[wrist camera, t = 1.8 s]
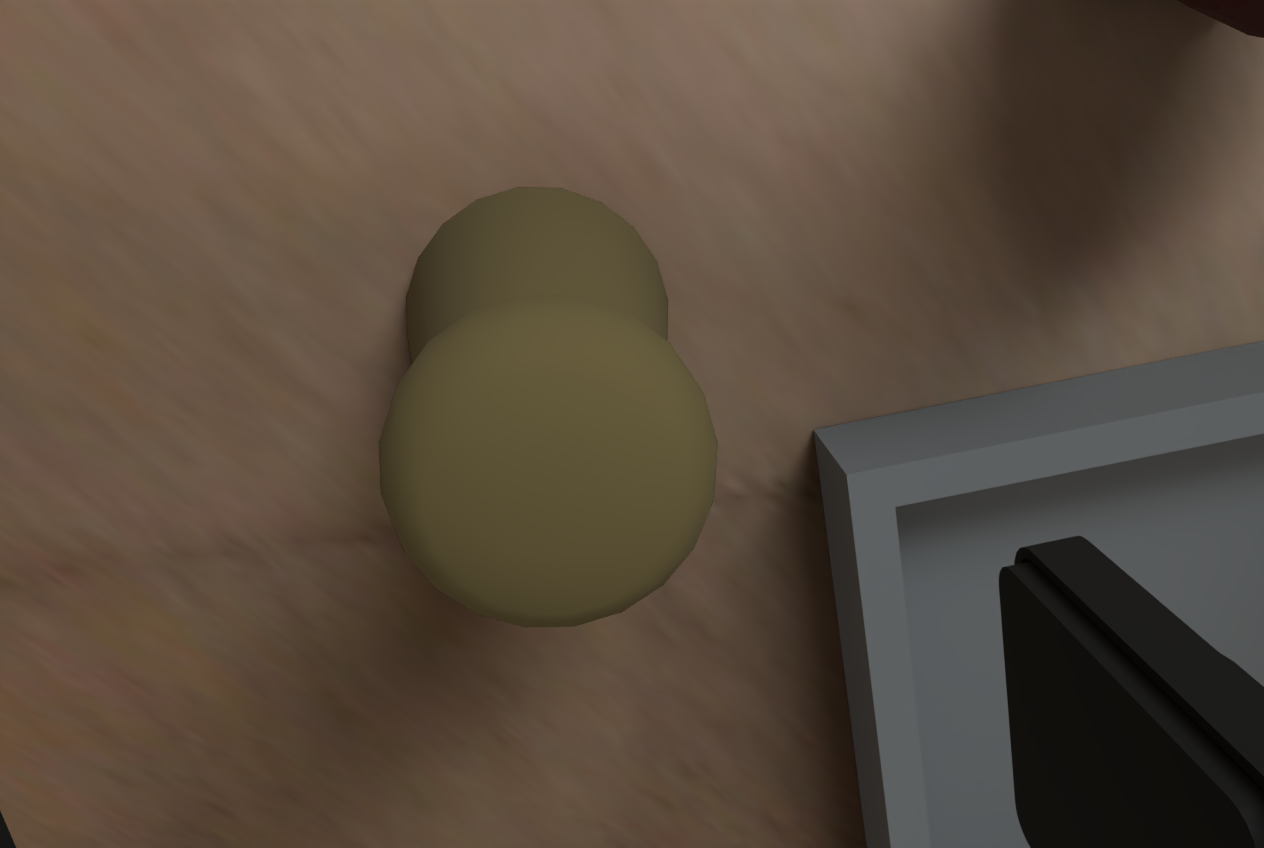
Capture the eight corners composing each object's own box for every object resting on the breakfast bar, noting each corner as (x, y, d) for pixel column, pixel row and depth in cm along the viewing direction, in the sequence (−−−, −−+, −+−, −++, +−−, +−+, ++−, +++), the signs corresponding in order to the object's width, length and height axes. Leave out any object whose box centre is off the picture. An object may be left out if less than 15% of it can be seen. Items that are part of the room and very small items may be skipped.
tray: (1443, 305, 29) (1544, 336, 26) (1408, 827, 34) (1488, 900, 31) (813, 429, 28) (846, 474, 25) (878, 940, 34) (911, 1023, 31)
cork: (641, 459, 28) (715, 713, 18) (389, 421, 27) (313, 666, 17) (692, 212, 26) (808, 335, 16) (424, 163, 25) (362, 260, 15)
